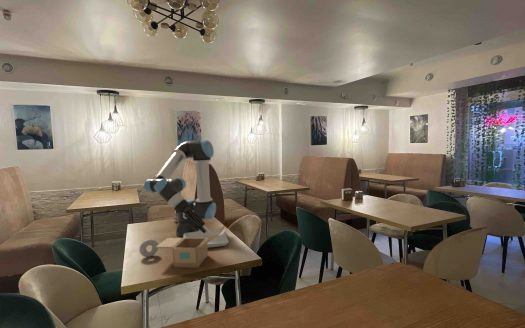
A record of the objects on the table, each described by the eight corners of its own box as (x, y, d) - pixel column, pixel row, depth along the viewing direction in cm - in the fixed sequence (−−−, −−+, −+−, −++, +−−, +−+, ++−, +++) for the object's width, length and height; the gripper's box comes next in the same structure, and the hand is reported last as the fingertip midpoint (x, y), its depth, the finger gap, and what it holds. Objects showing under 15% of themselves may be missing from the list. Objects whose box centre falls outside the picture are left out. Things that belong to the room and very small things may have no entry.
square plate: (184, 238, 181) (183, 232, 180) (224, 233, 187) (224, 228, 187) (181, 253, 154) (181, 246, 154) (229, 247, 160) (229, 241, 160)
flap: (224, 225, 146) (224, 227, 146) (206, 238, 147) (207, 239, 147) (217, 233, 133) (218, 235, 133) (198, 247, 134) (199, 248, 134)
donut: (140, 260, 146) (139, 242, 145) (139, 258, 149) (138, 240, 148) (159, 255, 151) (158, 238, 151) (158, 253, 154) (157, 236, 153)
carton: (169, 255, 151) (168, 237, 151) (207, 255, 149) (206, 237, 148) (155, 267, 136) (153, 248, 135) (197, 268, 133) (196, 248, 132)
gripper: (179, 205, 147) (209, 236, 146) (168, 211, 134) (201, 245, 133) (188, 196, 146) (218, 227, 145) (178, 201, 133) (211, 235, 132)
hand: (210, 236), depth 139 cm, fingers closed
